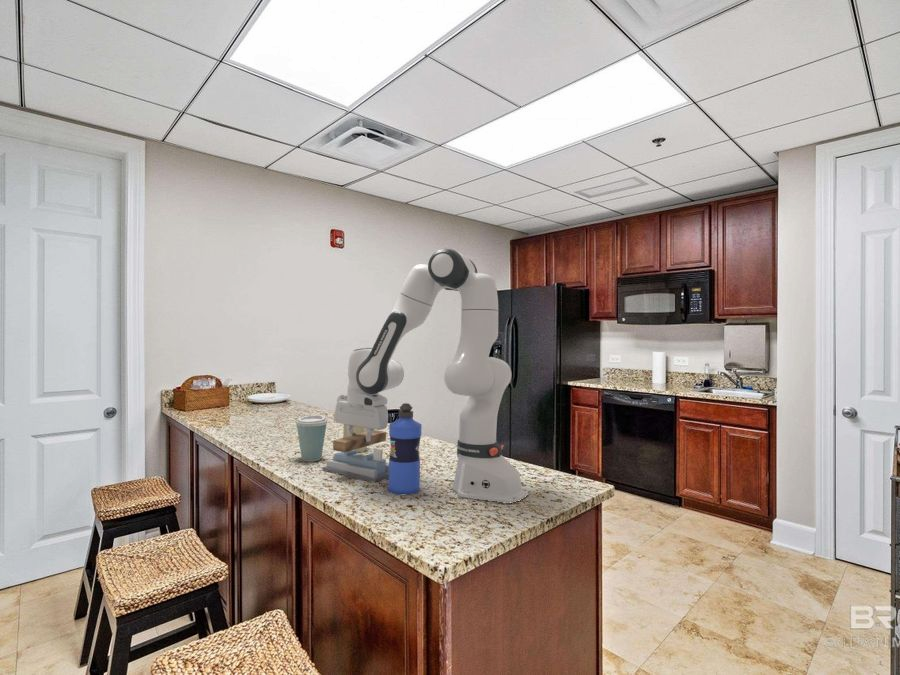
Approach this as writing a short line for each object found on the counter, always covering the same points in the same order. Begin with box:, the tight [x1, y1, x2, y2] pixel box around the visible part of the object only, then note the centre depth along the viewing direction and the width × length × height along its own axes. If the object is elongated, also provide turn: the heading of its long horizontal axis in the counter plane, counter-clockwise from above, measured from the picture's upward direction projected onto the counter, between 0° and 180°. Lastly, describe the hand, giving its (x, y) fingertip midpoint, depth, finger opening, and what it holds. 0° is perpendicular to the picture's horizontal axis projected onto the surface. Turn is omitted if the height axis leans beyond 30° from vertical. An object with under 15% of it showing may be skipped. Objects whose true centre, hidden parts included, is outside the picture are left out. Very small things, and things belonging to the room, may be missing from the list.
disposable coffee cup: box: [295, 414, 328, 463], centre depth 167 cm, size 11×11×15 cm
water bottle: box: [387, 402, 423, 495], centre depth 137 cm, size 9×9×25 cm
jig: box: [322, 459, 389, 483], centre depth 153 cm, size 22×11×3 cm, turn 59°
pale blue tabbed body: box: [332, 448, 387, 475], centre depth 154 cm, size 20×4×8 cm, turn 59°
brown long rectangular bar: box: [332, 429, 387, 452], centre depth 154 cm, size 20×5×3 cm, turn 149°
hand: (359, 439), depth 153 cm, fingers closed on brown long rectangular bar, 5 cm apart
